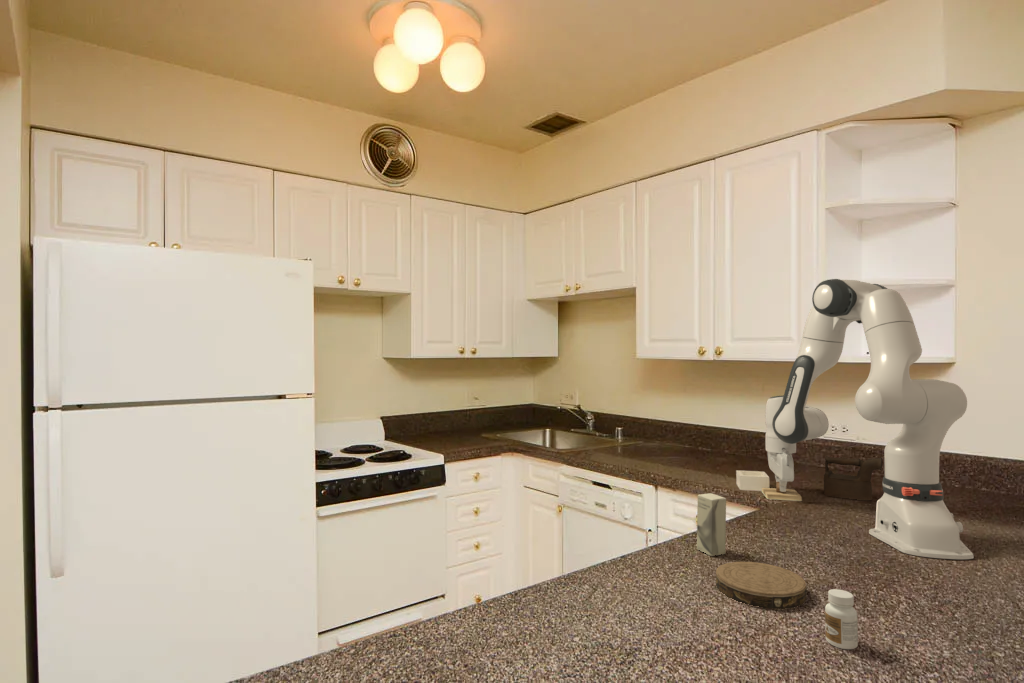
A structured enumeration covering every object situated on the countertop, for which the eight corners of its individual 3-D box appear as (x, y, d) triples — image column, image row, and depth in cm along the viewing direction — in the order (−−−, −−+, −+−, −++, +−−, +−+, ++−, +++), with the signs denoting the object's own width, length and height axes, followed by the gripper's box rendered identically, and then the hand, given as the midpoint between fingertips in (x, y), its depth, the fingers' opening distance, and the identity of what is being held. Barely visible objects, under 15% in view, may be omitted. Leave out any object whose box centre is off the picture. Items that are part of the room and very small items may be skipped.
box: (696, 549, 131) (695, 494, 132) (710, 547, 133) (710, 492, 133) (712, 557, 126) (711, 499, 127) (727, 554, 128) (727, 497, 128)
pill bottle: (819, 636, 91) (818, 587, 91) (845, 635, 91) (845, 587, 91) (836, 650, 87) (835, 599, 87) (864, 649, 87) (863, 599, 87)
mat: (802, 502, 173) (802, 500, 173) (767, 500, 176) (767, 498, 176) (794, 494, 183) (794, 493, 183) (761, 492, 185) (761, 491, 185)
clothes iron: (880, 504, 171) (880, 459, 171) (821, 496, 181) (821, 454, 181) (884, 499, 177) (883, 456, 177) (826, 491, 187) (826, 450, 187)
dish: (769, 492, 185) (769, 477, 185) (740, 490, 188) (739, 475, 188) (764, 486, 194) (764, 471, 194) (736, 484, 196) (736, 470, 196)
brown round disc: (702, 577, 116) (702, 562, 116) (777, 575, 117) (776, 560, 117) (739, 612, 100) (739, 595, 100) (825, 609, 101) (825, 592, 101)
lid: (801, 500, 174) (801, 486, 174) (767, 498, 176) (767, 485, 176) (794, 493, 183) (794, 480, 183) (762, 491, 185) (762, 478, 185)
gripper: (799, 451, 169) (800, 498, 169) (784, 441, 189) (785, 483, 188) (776, 451, 170) (777, 497, 170) (764, 441, 190) (764, 482, 190)
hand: (781, 489), depth 179 cm, fingers closed on lid, 3 cm apart
